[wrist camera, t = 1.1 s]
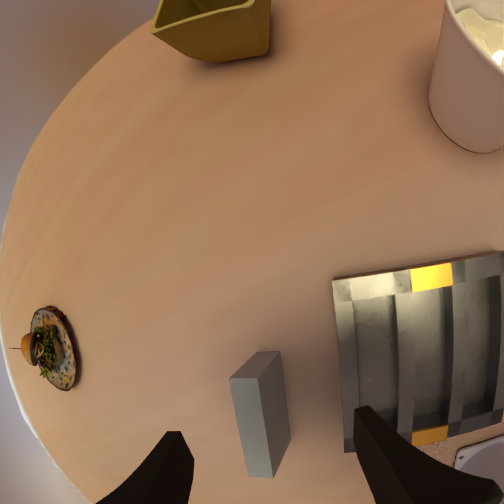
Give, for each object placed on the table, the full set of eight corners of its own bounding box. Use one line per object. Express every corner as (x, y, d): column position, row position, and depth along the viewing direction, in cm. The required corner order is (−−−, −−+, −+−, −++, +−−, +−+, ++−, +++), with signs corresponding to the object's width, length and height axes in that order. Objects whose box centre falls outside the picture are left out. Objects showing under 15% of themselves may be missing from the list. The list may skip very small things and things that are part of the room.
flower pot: (208, 22, 26) (168, -26, 18) (284, 7, 24) (258, -52, 15) (199, 81, 27) (148, 34, 18) (285, 68, 24) (253, 4, 15)
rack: (490, 406, 18) (502, 423, 14) (346, 433, 22) (343, 454, 19) (494, 250, 18) (512, 250, 15) (334, 277, 23) (331, 281, 20)
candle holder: (412, 56, 20) (427, -40, 8) (503, 76, 17) (549, 3, 5) (423, 153, 20) (470, 76, 9) (520, 172, 17) (600, 127, 6)
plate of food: (74, 402, 34) (36, 418, 27) (34, 345, 37) (-3, 353, 30) (94, 348, 32) (47, 364, 24) (48, 287, 35) (4, 291, 28)
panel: (290, 438, 24) (273, 478, 18) (269, 438, 24) (248, 476, 19) (280, 350, 24) (257, 378, 18) (256, 352, 25) (229, 378, 19)
